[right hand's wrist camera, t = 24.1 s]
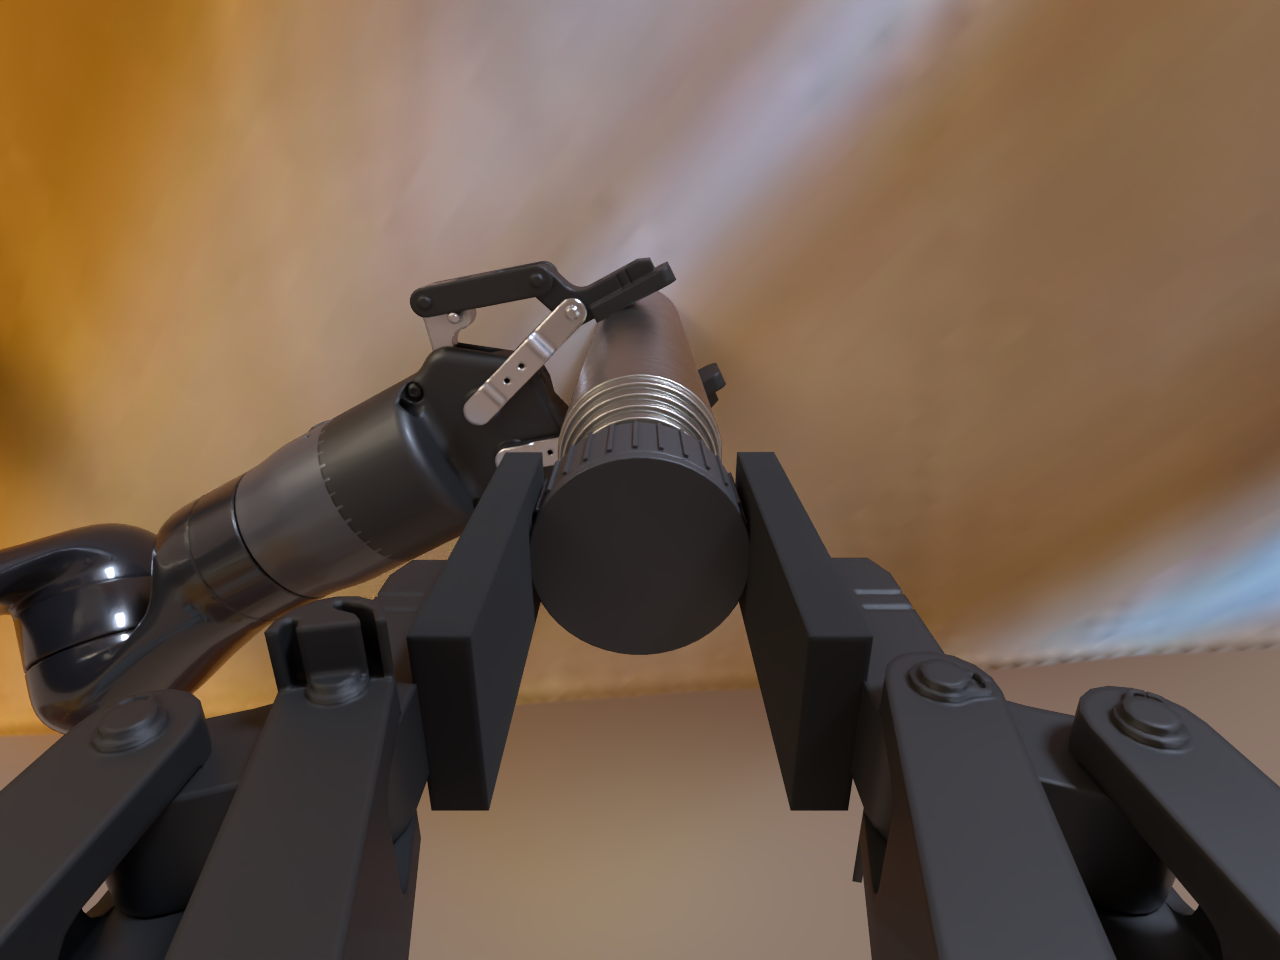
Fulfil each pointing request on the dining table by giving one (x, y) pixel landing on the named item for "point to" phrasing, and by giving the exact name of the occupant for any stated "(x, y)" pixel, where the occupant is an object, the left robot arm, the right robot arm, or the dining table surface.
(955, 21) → the dining table surface
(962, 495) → the dining table surface
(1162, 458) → the dining table surface
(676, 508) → the cap
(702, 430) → the bottle
